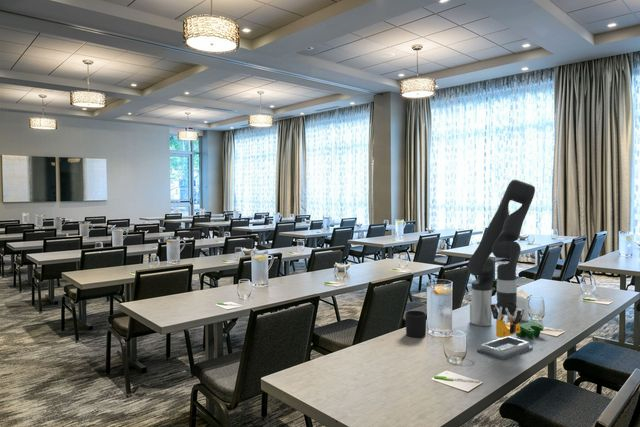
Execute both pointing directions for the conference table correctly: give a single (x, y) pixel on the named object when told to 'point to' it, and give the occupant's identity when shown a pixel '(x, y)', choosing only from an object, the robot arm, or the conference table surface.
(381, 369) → the conference table surface
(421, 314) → the pen holder
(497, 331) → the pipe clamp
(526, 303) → the white napkin holder
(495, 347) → the grey metal tray
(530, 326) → the clamp
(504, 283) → the robot arm
